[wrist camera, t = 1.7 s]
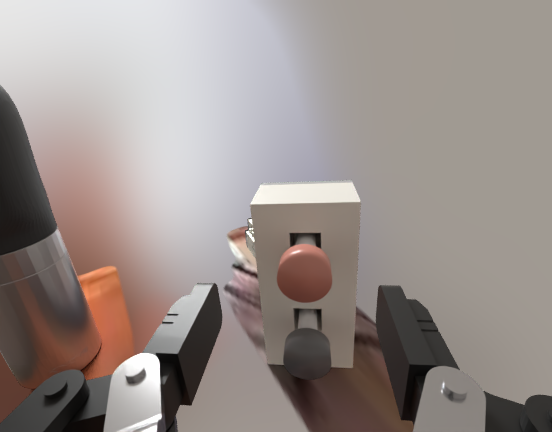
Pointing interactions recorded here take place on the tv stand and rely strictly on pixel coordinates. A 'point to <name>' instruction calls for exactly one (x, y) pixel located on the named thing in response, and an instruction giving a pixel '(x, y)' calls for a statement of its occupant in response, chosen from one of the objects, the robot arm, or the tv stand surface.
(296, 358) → the knob
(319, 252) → the knob
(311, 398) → the tv stand surface
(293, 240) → the mount
